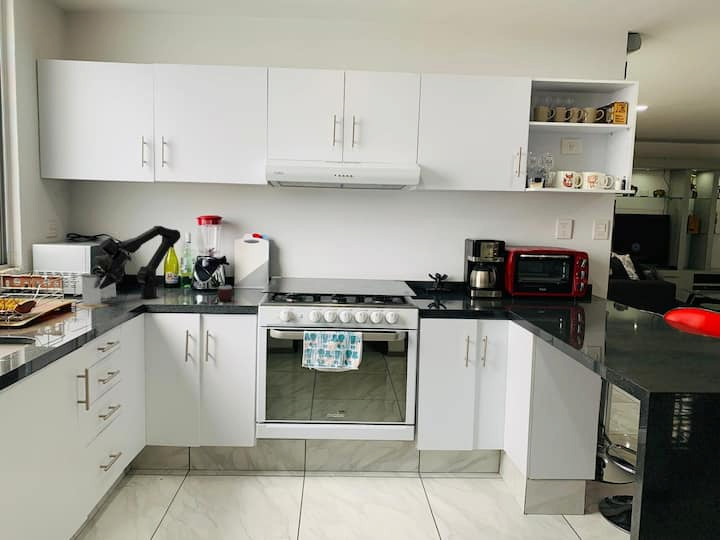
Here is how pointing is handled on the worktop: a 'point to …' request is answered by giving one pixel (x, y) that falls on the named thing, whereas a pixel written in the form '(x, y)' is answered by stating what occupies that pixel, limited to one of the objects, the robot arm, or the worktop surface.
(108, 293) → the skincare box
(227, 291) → the mate gourd
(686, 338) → the worktop surface
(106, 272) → the robot arm
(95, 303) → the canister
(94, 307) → the oak board
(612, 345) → the worktop surface
